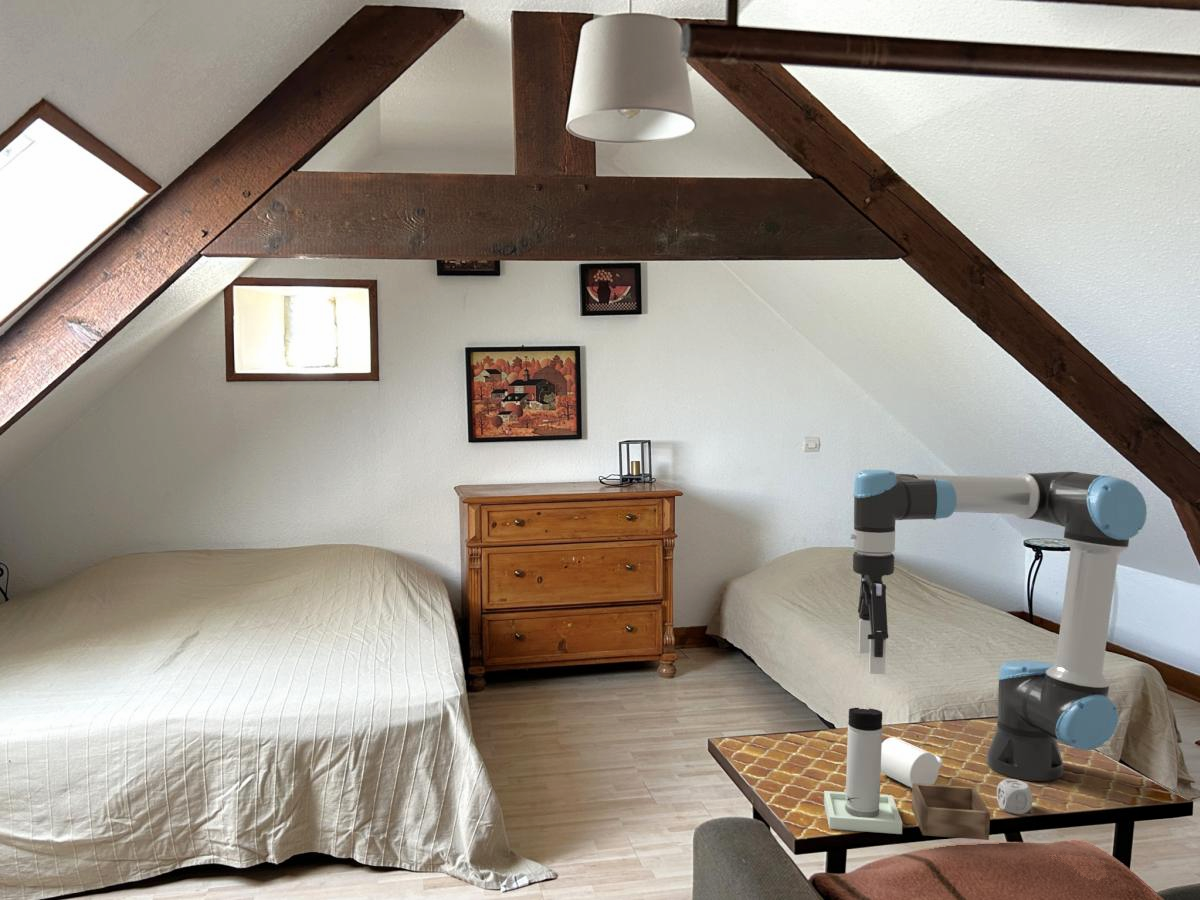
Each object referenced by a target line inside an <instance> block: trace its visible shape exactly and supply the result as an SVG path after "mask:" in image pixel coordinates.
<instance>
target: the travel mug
mask: <svg viewBox="0 0 1200 900" xmlns="http://www.w3.org/2000/svg"><path fill="white" fill-rule="evenodd" d="M882 740H883V712H882V711H881V710H879V709H875V708H870V707H869V708H866V709H865V708H860V707H851V708H849V709H848V722H847V741H846V742H847V747H846V777H845V792H846V798H845V800H846V801H845V809H846V811H847V812H848V813H850V814H851V815H854V816H857V817H865V818H871V817H875V816H877V815H878V814H879V802H880V795H881V794H880V793H881V776H882V775H881V774H882V773H881V748H882Z"/></svg>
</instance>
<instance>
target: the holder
mask: <svg viewBox="0 0 1200 900" xmlns="http://www.w3.org/2000/svg"><path fill="white" fill-rule="evenodd" d="M911 810H912V814H914V815H913V816H914V817H915V819H916V822H917V824H918V825H917V826H918V827H919V830H920V832H921V835H922V836H929V837H945V838H954V839H955V838H957V839H970V840H971V839H972V840H984V841H985V840H986V841H989V840H990V825H991V823H990V821H991V812H990V811H989V809H988V807H987V806H986V804H985V802H984V800H983V799H982V797H981V795H980V794H979V792H978V791H977V788H976V787H975V786H962V785H961V786H960V785H946V784H945V785H944V784H933V785H932V784H917V783H913V784H912V788H911Z"/></svg>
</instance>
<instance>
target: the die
mask: <svg viewBox="0 0 1200 900" xmlns="http://www.w3.org/2000/svg"><path fill="white" fill-rule="evenodd" d="M996 799H997V803H998V806H999V808H1000V809H1001V810H1002V811H1004V812H1006V813H1009V814H1013V815H1024V814H1027V813H1028V812H1030V810H1031V809H1032V805H1033V794H1032V791H1031V788H1030V786H1029V785H1028V783H1026V782H1024V781H1022V780H1020V779H1015V778H1014V779H1013V778H1010V779H1008V778H1007V779H1006V778H1005V779H1003V780H1001V781H1000V782H999V783H998V784H997V786H996Z"/></svg>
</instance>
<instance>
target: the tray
mask: <svg viewBox="0 0 1200 900" xmlns="http://www.w3.org/2000/svg"><path fill="white" fill-rule="evenodd" d="M845 798H846V791H845V792H844V791H831V790H824V791H823V804H824V805H823V806H824V810H825V815H826V819H827V823H828V829H829V830H839V831H840V830H842V831H852V832H853V831H854V832H868V833H880V834H882V833H883V834H895V835H902V834H903V820H902V818H901V815H900V812H899V810H898V807H897V804H896V802H895V800H894V795H888V794H880V802H879V814H878V815H877V816H875V817H871V818H865V817H857V816H854V815H851V814H850V813H848V812H847V811H846V809H845V801H846V800H845Z"/></svg>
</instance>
